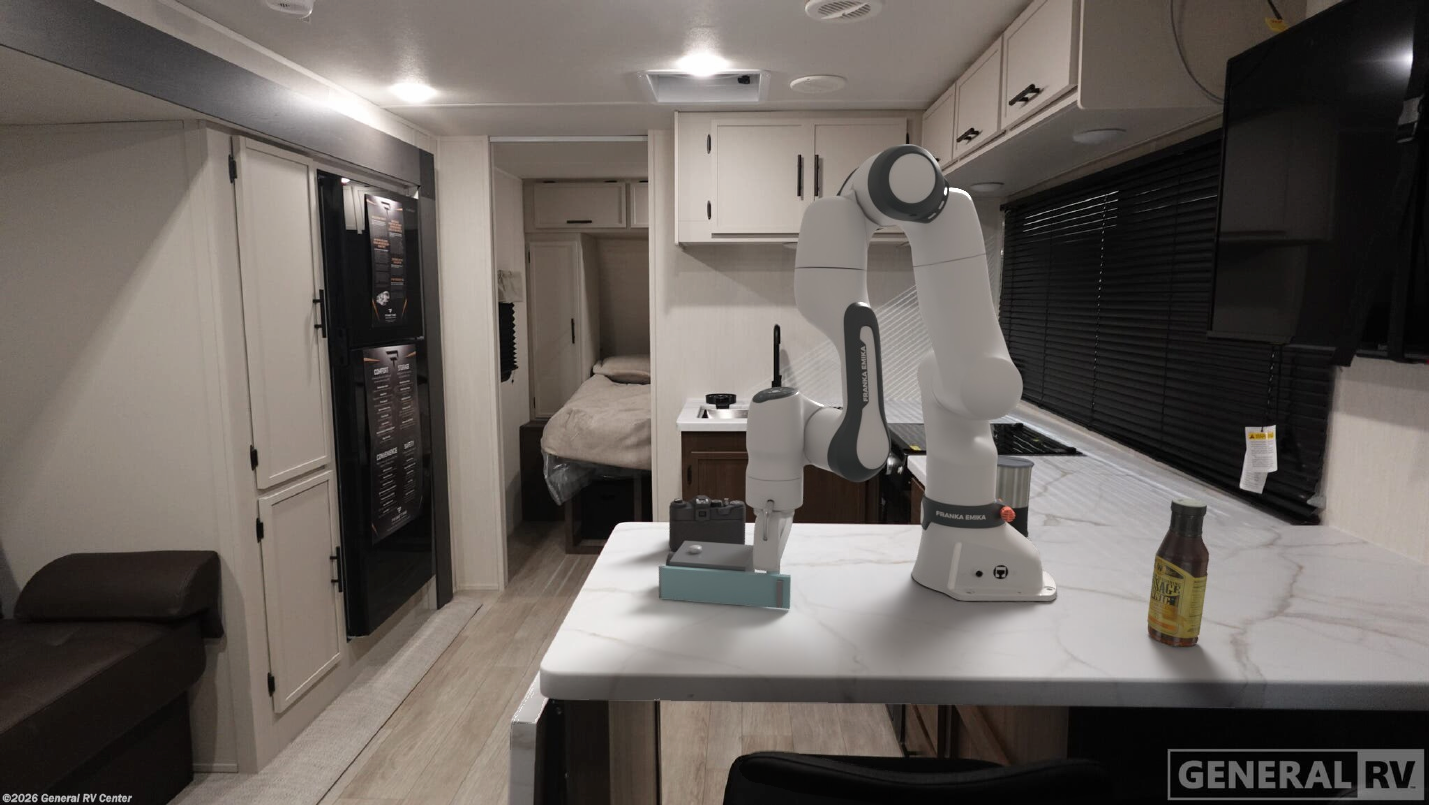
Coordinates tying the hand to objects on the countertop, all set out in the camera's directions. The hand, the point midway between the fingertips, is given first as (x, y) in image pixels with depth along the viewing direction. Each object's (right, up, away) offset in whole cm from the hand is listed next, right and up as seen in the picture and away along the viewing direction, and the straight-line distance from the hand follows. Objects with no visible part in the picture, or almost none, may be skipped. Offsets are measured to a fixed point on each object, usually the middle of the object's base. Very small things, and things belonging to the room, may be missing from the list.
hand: (773, 577), depth 117 cm
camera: (-11, 0, +26) cm, 28 cm away
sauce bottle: (+54, -5, -14) cm, 56 cm away
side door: (-8, -3, -3) cm, 9 cm away
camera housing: (-9, -3, +4) cm, 10 cm away
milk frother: (+46, +1, +30) cm, 55 cm away
